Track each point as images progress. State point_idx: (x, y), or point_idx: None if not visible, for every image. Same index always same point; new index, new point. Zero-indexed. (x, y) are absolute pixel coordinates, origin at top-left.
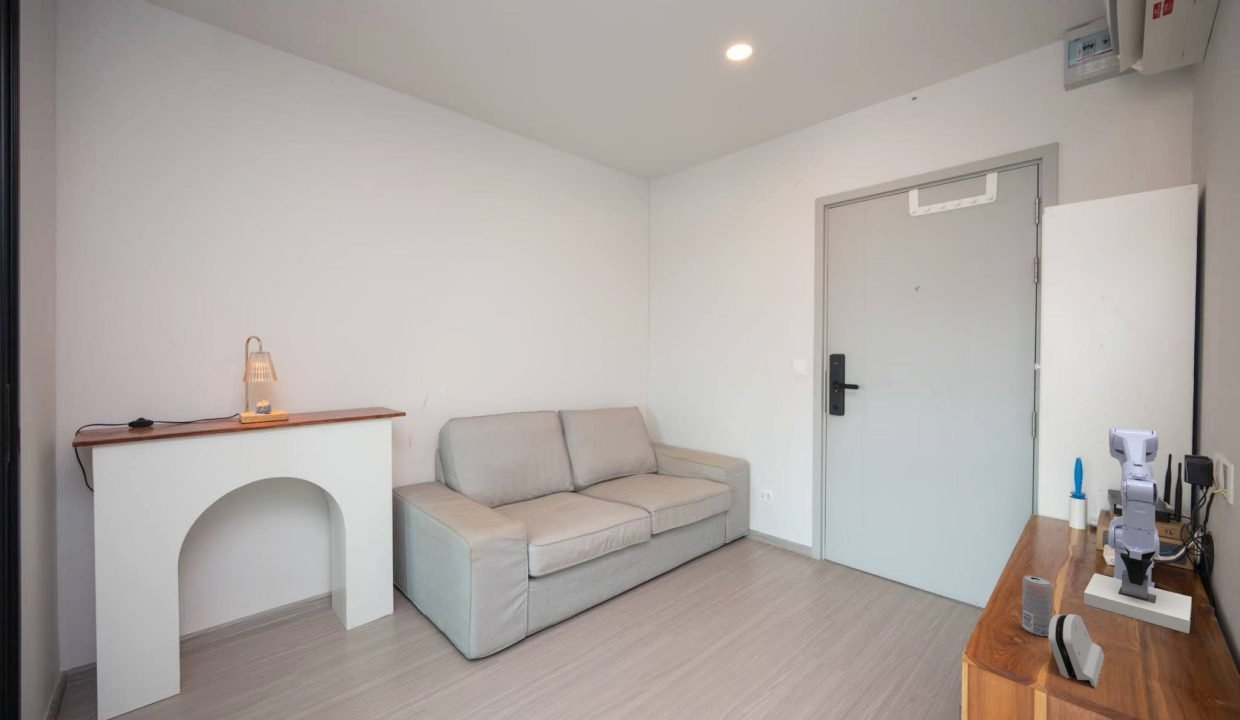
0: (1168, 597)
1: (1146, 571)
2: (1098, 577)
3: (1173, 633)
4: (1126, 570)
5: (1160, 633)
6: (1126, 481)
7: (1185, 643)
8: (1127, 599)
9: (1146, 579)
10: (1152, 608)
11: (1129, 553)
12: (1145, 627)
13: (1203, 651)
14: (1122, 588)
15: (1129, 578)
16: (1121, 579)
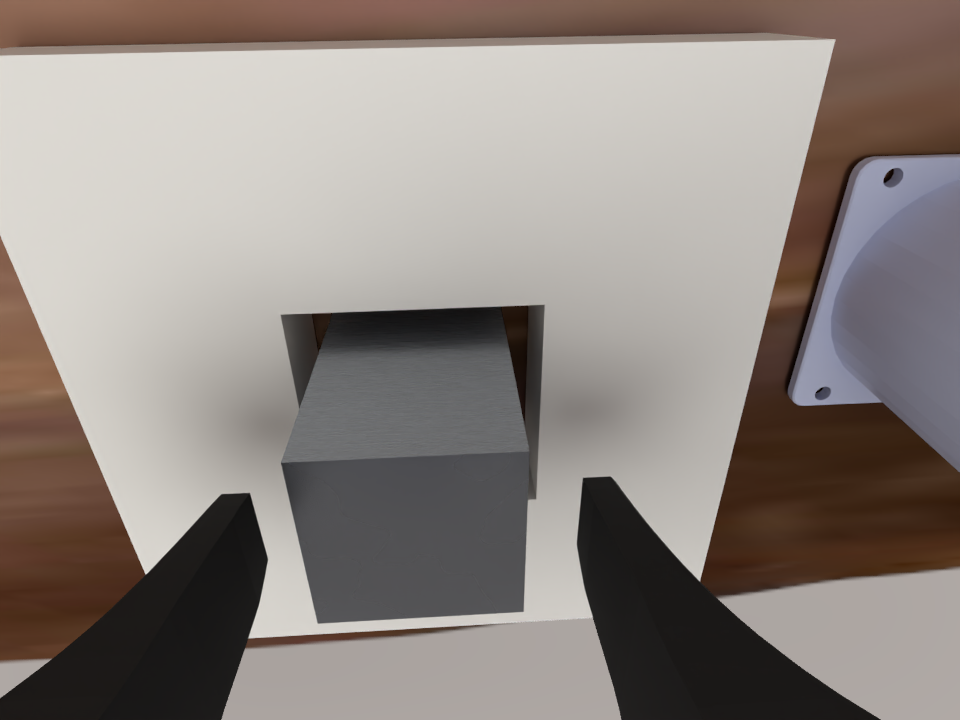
0: (558, 544)
1: (593, 612)
2: (682, 102)
3: (117, 530)
4: (521, 471)
5: (29, 493)
6: None
7: (25, 572)
8: (199, 384)
9: (348, 616)
10: (180, 511)
11: (677, 699)
12: (32, 435)
13: (11, 619)
14: (317, 366)
15: (187, 531)
16: (903, 249)
